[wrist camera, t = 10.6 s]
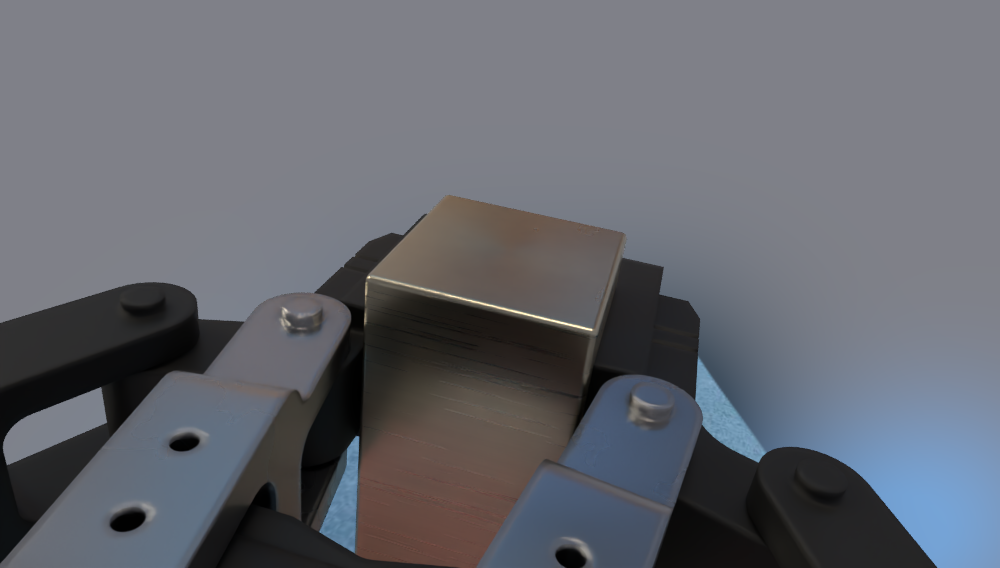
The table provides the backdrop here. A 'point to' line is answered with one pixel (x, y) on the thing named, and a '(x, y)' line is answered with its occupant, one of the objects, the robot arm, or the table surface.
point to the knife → (473, 372)
